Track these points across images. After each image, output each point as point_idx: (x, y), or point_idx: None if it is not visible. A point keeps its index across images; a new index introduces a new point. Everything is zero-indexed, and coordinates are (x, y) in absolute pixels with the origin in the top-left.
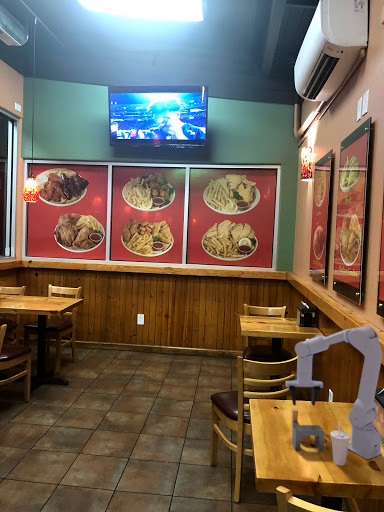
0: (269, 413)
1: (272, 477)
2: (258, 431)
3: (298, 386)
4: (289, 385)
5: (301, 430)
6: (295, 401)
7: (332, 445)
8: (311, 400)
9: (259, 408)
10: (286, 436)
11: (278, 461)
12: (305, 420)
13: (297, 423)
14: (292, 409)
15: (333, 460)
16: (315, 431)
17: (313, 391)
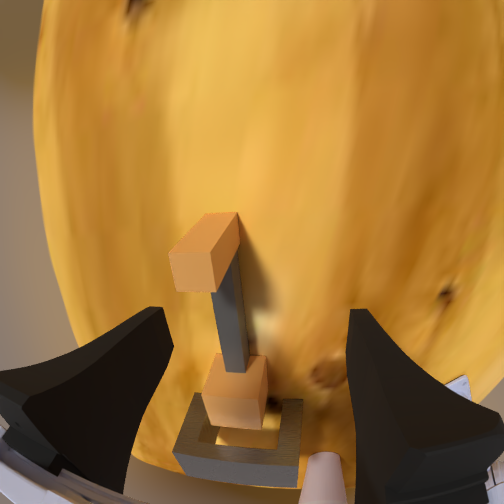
0: (92, 98)
1: (157, 465)
2: (72, 307)
3: (117, 502)
4: (22, 463)
5: (207, 477)
6: (157, 382)
7: (299, 500)
8: (355, 326)
9: (56, 52)
10: (174, 349)
11: (161, 442)
12: (310, 162)
13: (225, 296)
14: (172, 269)
15: (308, 461)
16: (261, 485)
17: (367, 473)
